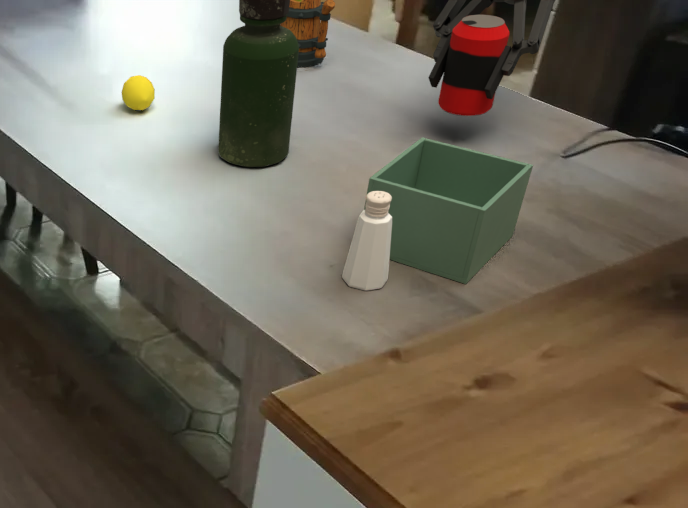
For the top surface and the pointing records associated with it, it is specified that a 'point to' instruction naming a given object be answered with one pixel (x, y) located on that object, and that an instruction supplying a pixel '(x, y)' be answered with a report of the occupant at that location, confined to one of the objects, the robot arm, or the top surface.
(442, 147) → the green open box
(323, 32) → the mug
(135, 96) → the lemon
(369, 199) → the pepper shaker
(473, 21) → the soda can
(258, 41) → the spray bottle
